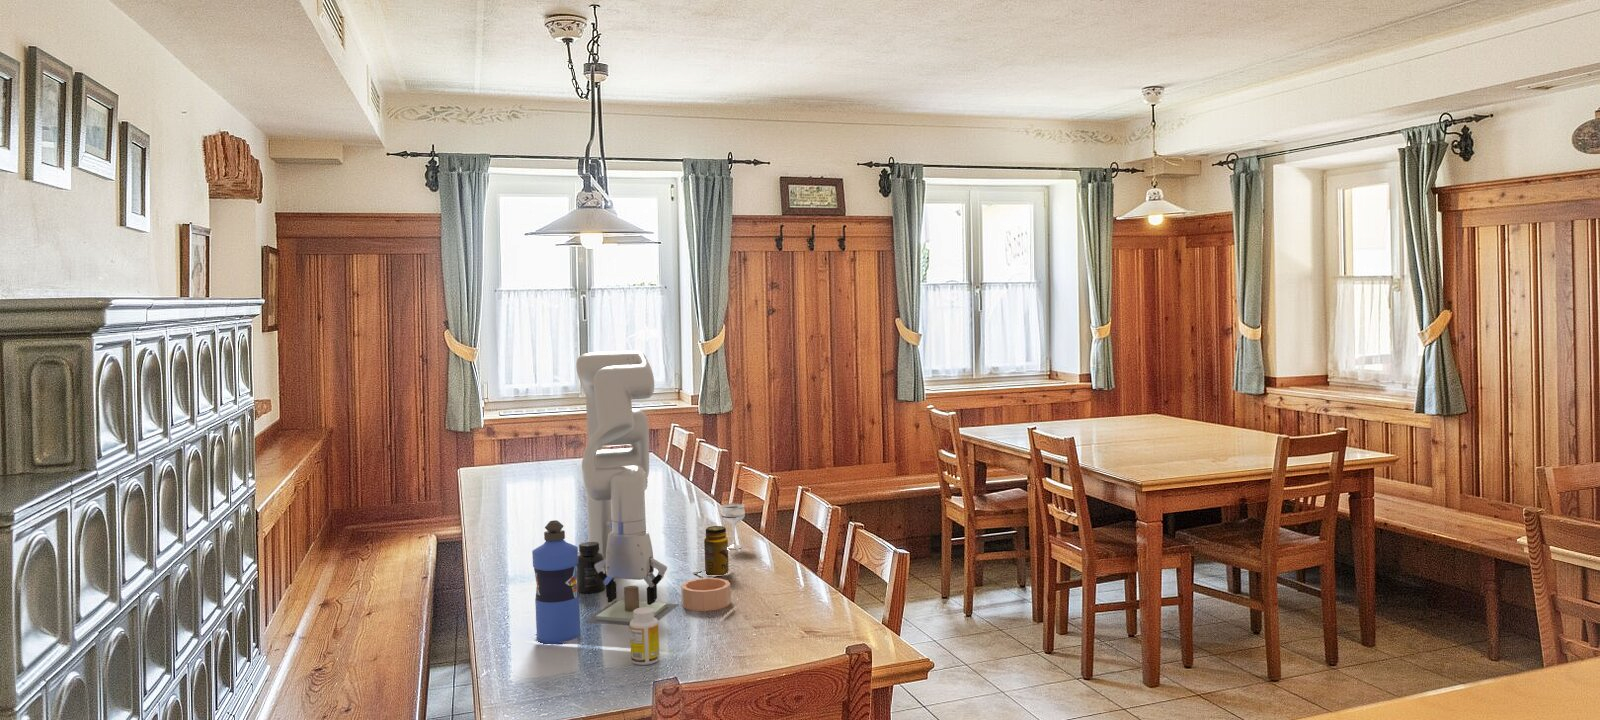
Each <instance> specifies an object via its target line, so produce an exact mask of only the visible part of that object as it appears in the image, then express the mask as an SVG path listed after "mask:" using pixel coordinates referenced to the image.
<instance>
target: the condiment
mask: <svg viewBox="0 0 1600 720" xmlns="http://www.w3.org/2000/svg"><path fill="white" fill-rule="evenodd" d="M703 542H704V543H703V544H704V545H703V546H704V570H701V571H695V572H692V574H694V575H695V574H698V573H701V572H702V571H706V574H707V575H724V574H726V573H728V571H729V549H728V546H729V544H728V543H729V541H728V537H727V529H726V526H723V525H722V526H721V525H713V526H712V525H711V526H708V527H706V528H705V538H704V540H703Z"/></svg>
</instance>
